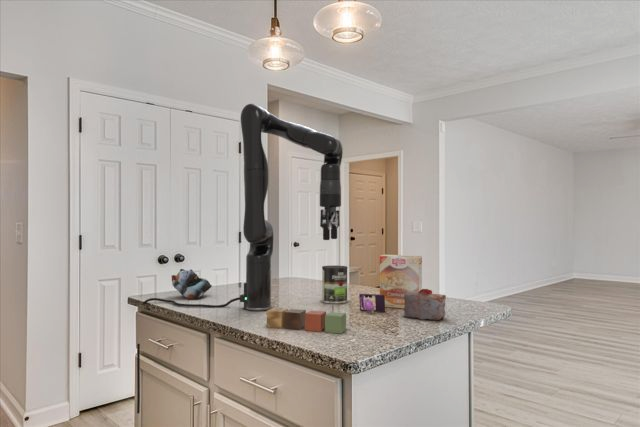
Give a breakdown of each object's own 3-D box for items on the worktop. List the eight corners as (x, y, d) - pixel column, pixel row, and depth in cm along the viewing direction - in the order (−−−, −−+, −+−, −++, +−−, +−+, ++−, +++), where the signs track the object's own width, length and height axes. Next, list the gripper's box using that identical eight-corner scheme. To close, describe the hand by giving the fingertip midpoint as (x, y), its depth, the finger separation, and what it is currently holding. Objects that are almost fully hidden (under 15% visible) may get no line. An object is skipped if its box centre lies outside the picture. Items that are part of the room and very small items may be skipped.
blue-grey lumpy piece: (196, 300, 181) (179, 270, 181) (177, 309, 187) (160, 280, 186) (217, 285, 195) (201, 257, 194) (199, 294, 200) (183, 267, 199)
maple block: (266, 326, 138) (266, 310, 138) (273, 323, 142) (273, 307, 142) (281, 328, 136) (281, 311, 136) (288, 324, 141) (288, 308, 141)
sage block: (325, 332, 131) (325, 315, 131) (330, 328, 136) (330, 311, 136) (341, 333, 130) (341, 316, 130) (346, 329, 134) (346, 313, 134)
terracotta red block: (305, 330, 134) (305, 313, 134) (310, 326, 138) (311, 310, 138) (320, 331, 132) (320, 314, 132) (326, 327, 137) (326, 311, 137)
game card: (384, 293, 160) (359, 292, 162) (383, 301, 155) (357, 299, 157) (385, 310, 162) (360, 309, 164) (383, 318, 157) (358, 316, 159)
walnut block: (284, 328, 136) (284, 311, 136) (290, 324, 140) (291, 308, 140) (299, 329, 134) (299, 313, 134) (305, 326, 139) (305, 310, 139)
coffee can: (352, 302, 179) (352, 267, 179) (329, 304, 174) (329, 268, 174) (339, 298, 188) (339, 264, 188) (317, 300, 183) (317, 265, 184)
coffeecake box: (379, 307, 170) (379, 255, 170) (383, 303, 176) (383, 254, 177) (419, 310, 164) (418, 256, 164) (422, 306, 171) (422, 255, 171)
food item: (448, 317, 151) (448, 288, 151) (443, 322, 144) (442, 291, 144) (408, 313, 157) (408, 285, 157) (401, 318, 150) (401, 288, 150)
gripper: (326, 194, 165) (326, 238, 165) (313, 192, 152) (313, 240, 152) (346, 194, 163) (346, 238, 162) (334, 191, 149) (334, 240, 149)
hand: (330, 239), depth 157 cm, fingers open, 8 cm apart
